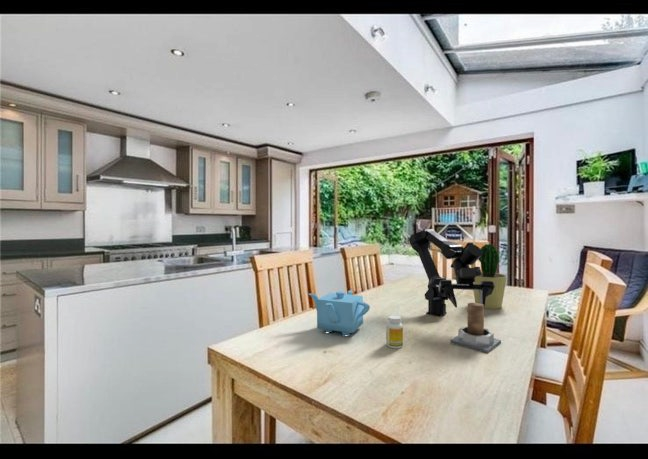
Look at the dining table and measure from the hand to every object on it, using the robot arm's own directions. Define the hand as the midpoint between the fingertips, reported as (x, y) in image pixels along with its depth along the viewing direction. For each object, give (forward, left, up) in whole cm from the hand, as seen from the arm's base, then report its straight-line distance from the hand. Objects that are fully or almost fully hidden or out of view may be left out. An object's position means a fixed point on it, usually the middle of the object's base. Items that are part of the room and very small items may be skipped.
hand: (469, 307), depth 119 cm
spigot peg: (+4, -5, -9) cm, 11 cm away
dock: (+4, -5, -10) cm, 12 cm away
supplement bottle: (-14, -26, -10) cm, 32 cm away
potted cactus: (-11, +48, -10) cm, 50 cm away
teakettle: (-38, -28, -10) cm, 48 cm away
